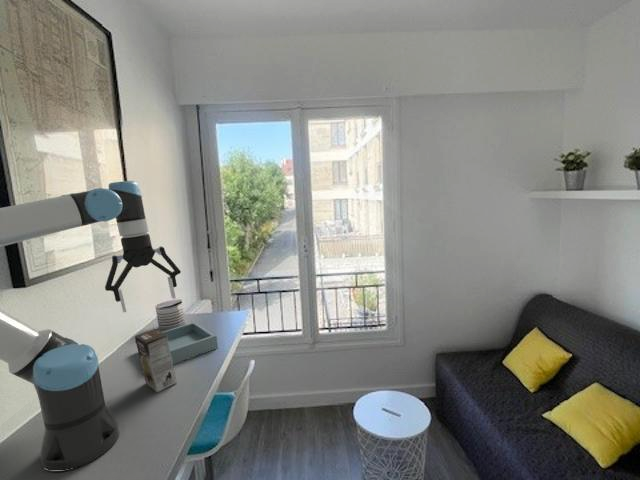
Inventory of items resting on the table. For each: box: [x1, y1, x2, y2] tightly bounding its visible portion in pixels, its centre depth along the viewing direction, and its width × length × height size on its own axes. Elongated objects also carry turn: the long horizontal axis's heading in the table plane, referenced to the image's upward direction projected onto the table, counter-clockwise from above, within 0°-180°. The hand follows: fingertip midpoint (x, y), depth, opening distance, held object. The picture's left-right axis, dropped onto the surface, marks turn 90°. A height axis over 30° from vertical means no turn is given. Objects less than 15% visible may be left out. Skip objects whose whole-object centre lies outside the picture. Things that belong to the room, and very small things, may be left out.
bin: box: [162, 321, 219, 366], centre depth 131 cm, size 22×22×5 cm
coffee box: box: [134, 328, 177, 393], centre depth 106 cm, size 9×6×16 cm
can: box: [154, 298, 186, 332], centre depth 155 cm, size 11×11×12 cm
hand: (149, 304), depth 104 cm, fingers open, 13 cm apart
